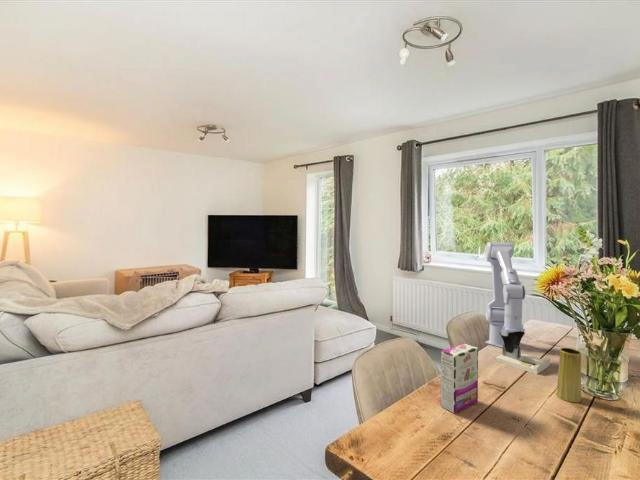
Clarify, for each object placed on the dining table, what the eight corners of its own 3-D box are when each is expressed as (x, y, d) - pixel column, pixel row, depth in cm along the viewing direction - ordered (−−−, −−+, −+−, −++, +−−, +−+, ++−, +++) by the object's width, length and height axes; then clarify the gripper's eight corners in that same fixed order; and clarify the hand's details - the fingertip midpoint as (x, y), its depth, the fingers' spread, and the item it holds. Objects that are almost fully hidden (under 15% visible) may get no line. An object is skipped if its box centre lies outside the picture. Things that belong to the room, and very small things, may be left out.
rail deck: (509, 353, 136) (509, 347, 136) (549, 365, 125) (550, 358, 125) (495, 361, 129) (495, 354, 128) (537, 374, 118) (537, 367, 117)
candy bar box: (462, 395, 103) (463, 342, 102) (478, 403, 99) (479, 347, 98) (439, 406, 97) (440, 350, 96) (454, 415, 92) (455, 355, 92)
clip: (507, 352, 133) (507, 340, 133) (520, 356, 129) (521, 344, 129) (502, 355, 130) (502, 343, 130) (516, 359, 126) (516, 346, 126)
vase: (572, 392, 105) (574, 347, 104) (586, 403, 99) (588, 355, 98) (551, 391, 105) (553, 346, 105) (564, 402, 99) (565, 354, 98)
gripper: (516, 321, 121) (514, 358, 122) (532, 314, 130) (531, 349, 131) (495, 316, 127) (494, 352, 127) (512, 310, 136) (511, 344, 136)
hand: (511, 350), depth 130 cm, fingers closed on clip, 4 cm apart
